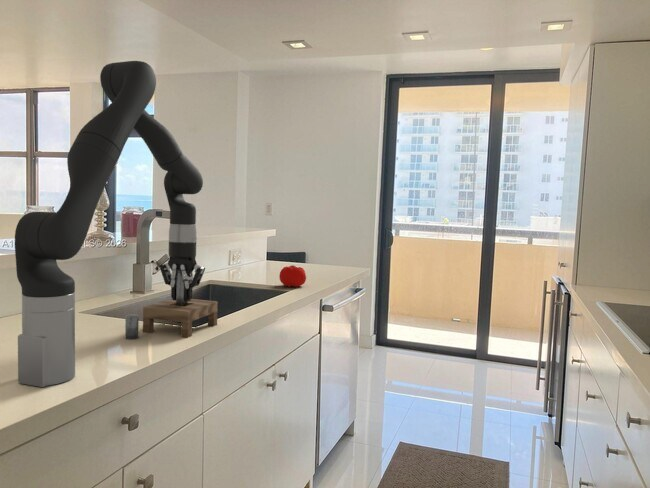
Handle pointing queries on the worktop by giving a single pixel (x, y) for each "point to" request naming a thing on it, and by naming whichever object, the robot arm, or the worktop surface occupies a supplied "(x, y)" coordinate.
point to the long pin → (180, 290)
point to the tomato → (292, 276)
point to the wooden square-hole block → (180, 314)
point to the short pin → (131, 326)
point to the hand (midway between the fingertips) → (181, 300)
